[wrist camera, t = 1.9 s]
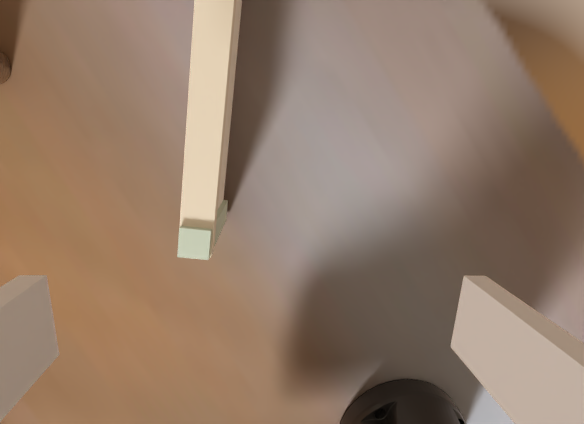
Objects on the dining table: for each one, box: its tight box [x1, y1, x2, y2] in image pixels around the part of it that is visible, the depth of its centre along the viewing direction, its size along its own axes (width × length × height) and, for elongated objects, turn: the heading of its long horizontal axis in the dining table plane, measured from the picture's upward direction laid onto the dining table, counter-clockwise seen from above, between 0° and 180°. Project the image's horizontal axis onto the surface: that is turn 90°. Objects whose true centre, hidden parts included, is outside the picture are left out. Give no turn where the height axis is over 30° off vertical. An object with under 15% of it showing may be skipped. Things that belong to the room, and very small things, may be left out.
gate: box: [177, 0, 242, 260], centre depth 24 cm, size 25×3×12 cm, turn 172°
